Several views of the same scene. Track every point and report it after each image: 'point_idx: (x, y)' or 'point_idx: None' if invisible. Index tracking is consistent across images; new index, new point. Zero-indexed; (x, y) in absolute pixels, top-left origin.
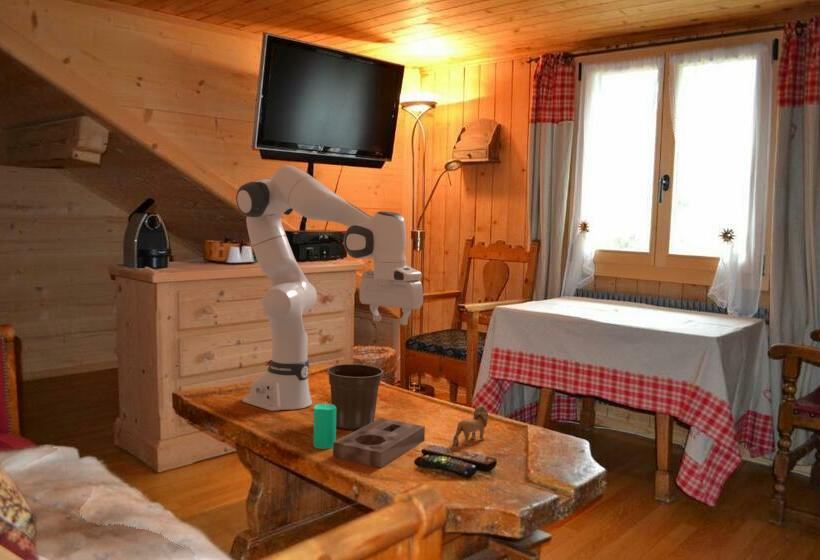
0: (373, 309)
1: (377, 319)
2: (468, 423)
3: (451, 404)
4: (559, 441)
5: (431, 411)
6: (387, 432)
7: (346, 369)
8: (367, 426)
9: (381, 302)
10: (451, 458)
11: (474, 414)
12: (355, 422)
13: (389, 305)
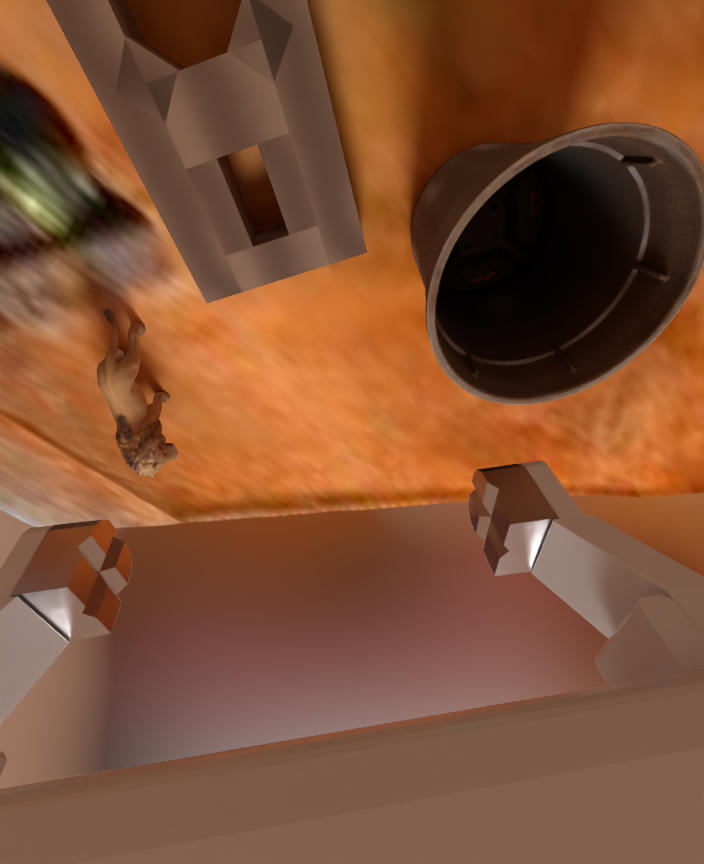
0: (637, 593)
1: (485, 486)
2: (98, 383)
3: (383, 505)
4: (57, 504)
5: (382, 451)
6: (218, 138)
7: (636, 323)
8: (324, 127)
9: (449, 825)
10: (29, 230)
11: (140, 434)
12: (434, 181)
13: (160, 799)
